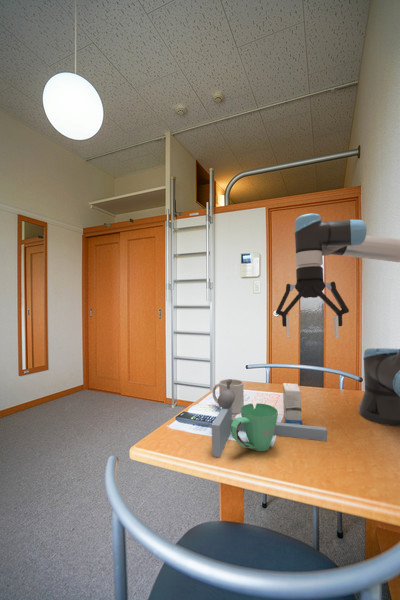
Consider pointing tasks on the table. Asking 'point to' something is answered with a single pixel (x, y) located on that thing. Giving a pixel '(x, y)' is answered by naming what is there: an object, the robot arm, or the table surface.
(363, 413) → the robot arm
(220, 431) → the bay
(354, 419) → the table surface
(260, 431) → the mug
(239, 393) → the mug
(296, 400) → the ink box
